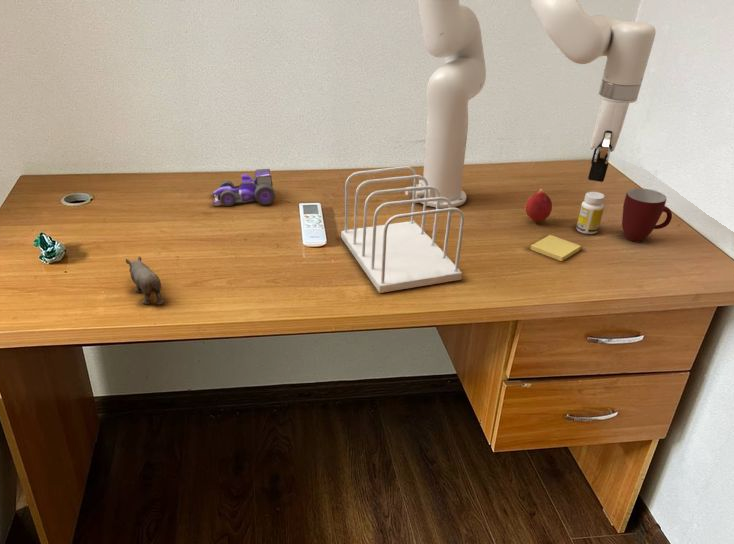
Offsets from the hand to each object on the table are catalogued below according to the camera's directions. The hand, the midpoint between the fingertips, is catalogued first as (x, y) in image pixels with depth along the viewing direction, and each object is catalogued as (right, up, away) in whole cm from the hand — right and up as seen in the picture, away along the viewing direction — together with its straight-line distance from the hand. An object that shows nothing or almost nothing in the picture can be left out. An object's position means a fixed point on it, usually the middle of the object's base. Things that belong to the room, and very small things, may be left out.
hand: (597, 172), depth 143 cm
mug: (+11, -14, +4) cm, 18 cm away
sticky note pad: (-9, -17, -1) cm, 19 cm away
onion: (-10, -9, +11) cm, 17 cm away
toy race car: (-79, -1, +21) cm, 82 cm away
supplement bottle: (+1, -11, +7) cm, 14 cm away
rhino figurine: (-93, -27, -15) cm, 98 cm away
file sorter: (-43, -19, -4) cm, 48 cm away
